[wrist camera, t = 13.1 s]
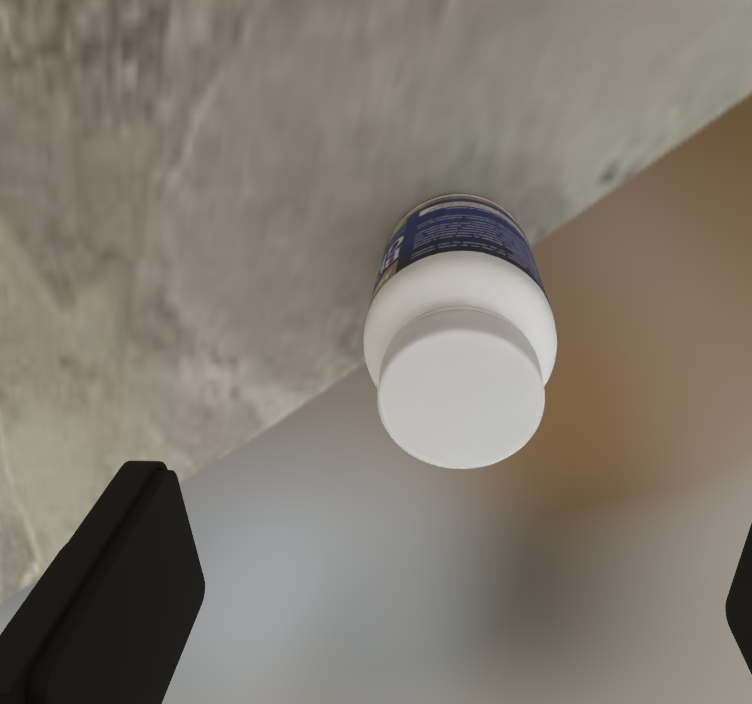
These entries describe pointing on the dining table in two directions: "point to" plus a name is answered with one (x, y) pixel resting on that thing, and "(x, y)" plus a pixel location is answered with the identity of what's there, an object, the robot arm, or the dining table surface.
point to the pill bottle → (459, 334)
